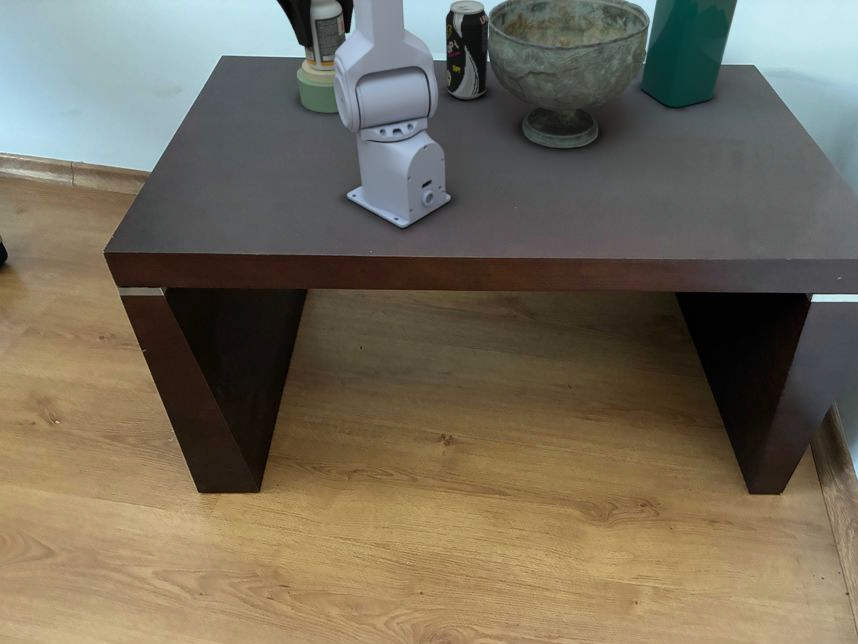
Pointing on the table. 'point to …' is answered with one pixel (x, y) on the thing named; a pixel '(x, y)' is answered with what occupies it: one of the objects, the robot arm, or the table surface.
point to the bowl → (566, 61)
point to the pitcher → (686, 49)
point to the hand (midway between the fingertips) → (324, 38)
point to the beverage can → (466, 49)
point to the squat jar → (317, 89)
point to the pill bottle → (325, 33)
